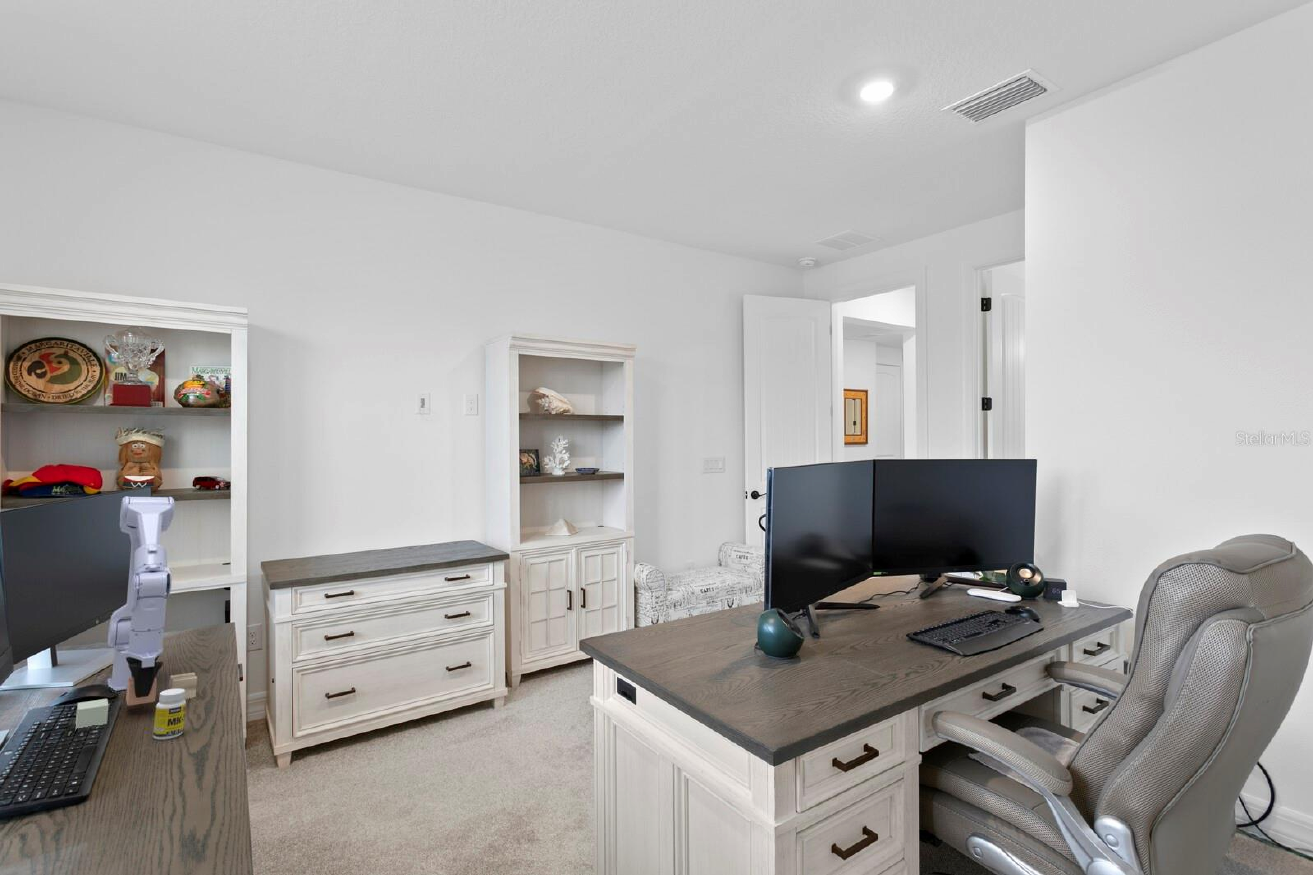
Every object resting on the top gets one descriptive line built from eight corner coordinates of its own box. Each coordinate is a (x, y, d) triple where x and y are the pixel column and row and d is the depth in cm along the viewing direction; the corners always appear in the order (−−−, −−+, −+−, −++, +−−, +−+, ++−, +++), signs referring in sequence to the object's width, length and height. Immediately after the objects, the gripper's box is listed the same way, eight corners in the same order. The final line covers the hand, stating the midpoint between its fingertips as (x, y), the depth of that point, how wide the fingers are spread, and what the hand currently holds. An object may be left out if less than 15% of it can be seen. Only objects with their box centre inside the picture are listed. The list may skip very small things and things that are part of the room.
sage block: (75, 726, 129) (77, 703, 130) (104, 721, 132) (107, 698, 133) (76, 733, 126) (78, 709, 126) (106, 728, 129) (108, 705, 129)
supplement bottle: (166, 741, 124) (170, 697, 125) (146, 738, 125) (150, 694, 126) (189, 732, 129) (193, 689, 129) (169, 729, 130) (173, 686, 130)
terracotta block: (125, 699, 138) (128, 678, 139) (152, 695, 142) (154, 674, 142) (127, 705, 135) (129, 683, 135) (154, 701, 138) (156, 680, 138)
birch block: (168, 696, 147) (170, 675, 148) (192, 692, 151) (194, 672, 151) (170, 701, 144) (172, 681, 144) (195, 697, 147) (197, 677, 147)
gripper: (120, 623, 142) (114, 687, 141) (126, 638, 131) (119, 707, 130) (160, 620, 147) (155, 681, 146) (169, 634, 136) (163, 700, 135)
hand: (141, 693), depth 138 cm, fingers closed on terracotta block, 4 cm apart
